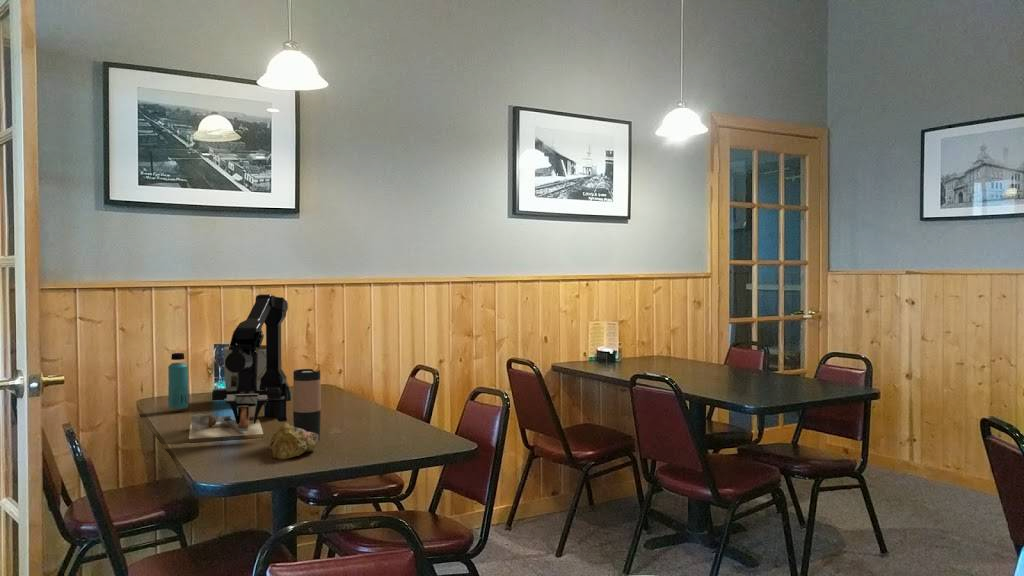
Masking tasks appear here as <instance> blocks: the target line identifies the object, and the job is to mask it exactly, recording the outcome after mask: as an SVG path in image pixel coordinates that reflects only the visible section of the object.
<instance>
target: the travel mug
mask: <svg viewBox="0 0 1024 576" xmlns="http://www.w3.org/2000/svg"><path fill="white" fill-rule="evenodd" d="M292 373H293V377H292V378H293V379H292V380H293V383H292V384H293V385H292V386H293V390H292V391H293V393H292V394H293V395H292V399H293V400H292V403H293V404H292V412H293V413H292V416H293V418H292V420H293V421H292V422H293V426H294V427H295V428H300V429H304V430H306V431H308V432H313V433H316V434H318V436H319V438H318V442H319V441H320V439H321V418H322V417H321V414H322V413H321V412H322V411H321V410H322V407H321V406H322V403H321V402H322V401H321V397H322V395H321V393H322V392H321V388H322V387H321V386H322V385H321V370H320V369H318V370H317V371H316V370H314V369H312V368H304V369H303V368H302V369H300V368H299V369H294V370H293V372H292Z"/></svg>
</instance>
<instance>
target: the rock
mask: <svg viewBox="0 0 1024 576" xmlns="http://www.w3.org/2000/svg"><path fill="white" fill-rule="evenodd" d="M318 438H319V436H318V434H316V433H313V432H308V431H306V430H304V429H300V428H295V427H294V425H290V422H285V423H283V424H282V425H281V426H280V427H279V428H278V429H277V430H276V431H275V432H274V434H273V435H272V436H271V438H270V441H269V445H268V448H269V450H272V451H271V452H272V453H271V454H272V457H273V458H274V459H278V460H288V459H291V458H295V457H297V456H299V457H300V456H301V455H303V454H304V453H309V452H310V453H311V452H314V451H315V448H316V446H317V444H318V442H319V441H318Z"/></svg>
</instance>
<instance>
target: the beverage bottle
mask: <svg viewBox="0 0 1024 576" xmlns="http://www.w3.org/2000/svg"><path fill="white" fill-rule="evenodd" d="M170 360H173V361H174V360H175V361H180V360H186V359H185V352H184V353H183V352H174V353H171V359H170ZM188 367H189V365H188V364H187V363H185V362H172V363H170V364H169V365H168V366H167V368H168V373H167V374H168V387H167V388H168V389H167V390H168V391H167V395H168V408H169V409H172V410H173V409H174V410H181V409H182V410H183V409H187V408H188V407H189V401H190V396H189V371H188V370H189V368H188Z"/></svg>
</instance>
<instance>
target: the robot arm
mask: <svg viewBox="0 0 1024 576" xmlns="http://www.w3.org/2000/svg"><path fill="white" fill-rule="evenodd" d="M288 307H289V303H288V301H287V300H286V299H285V298H284V297H282V296H281V297H279V296H275V295H272V294H268V293H267V294H261V293H259V294H257V295H256V296H255V302H254V303H253V305H252V308H251V310H250V312H249V314H248V315H247V317H246V320H243V321H241V322H239V324H238V325H237V326H236V328H235V329H234V330H233V332H232V335H231V340H230V344H229V346H228V347H229V350H232V353H230V354H229V355H228V356H227V358H226V360H225V366H226V368H227V369H228V370H229V371H230V372H233V373H237V376H231V388H236V391H227V388H226V387H224V388H223V387H221V388H220V387H217V388H213V389H212V390H211V392H212V393H211V394H212V396H211V397H212V398H211V400H212V401H224V400H225V402H224V403H225V404H228V403H229V404H228V405H229V406H230V407H231V410H232V413H233V416H234V418H235V419H234V420H235V421H236V423H237V424H238V405H237V403H236V397H257V398H256V404H255V407H254V413H253V414H254V415H253V420H254V424H255V423H256V420H258V417H259V414H260V411H261V410H262V408H263V417H264V418H276V420H277V421H288V418H287V402H290V401H292V391H291V389H290V386H289V383H288V378H287V375H286V373H284V371H283V370H282V323H283V322H284V320H285V318H286V317H287V312H288V309H289V308H288ZM264 324H265V334H264V333H263V329H262V328H263V325H264ZM264 336H265V340H266V341H265V345H266V372H265V373H264V375H263V376H262V377H261V383H260V387H259V390H257V381H258V353H259V350H258V349H259V348H260V346H261V345H263V344H262V343H263V340H264ZM240 392H241V393H240ZM264 402H265V403H264Z"/></svg>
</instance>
